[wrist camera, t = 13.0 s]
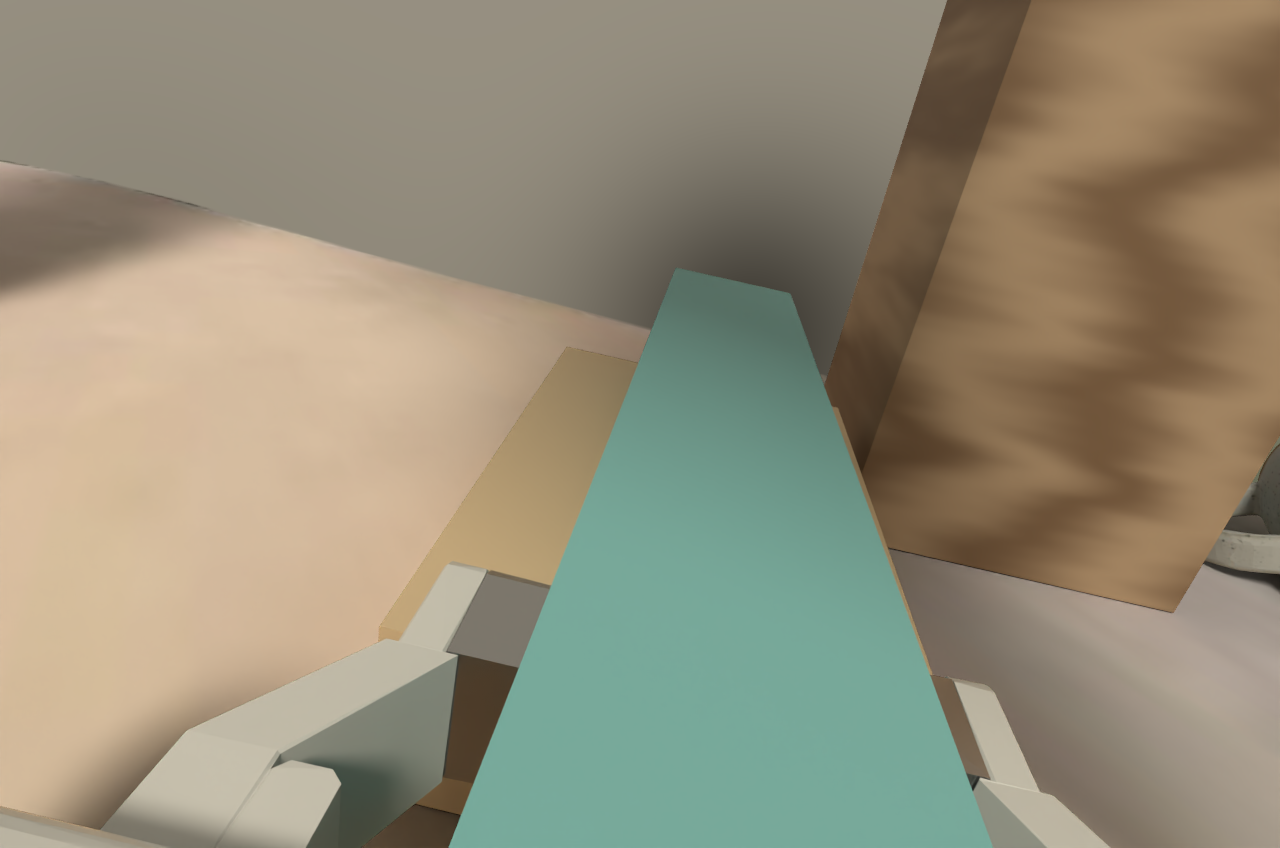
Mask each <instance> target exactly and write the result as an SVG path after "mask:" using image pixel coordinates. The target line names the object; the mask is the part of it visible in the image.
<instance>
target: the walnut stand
mask: <svg viewBox="0 0 1280 848" xmlns="http://www.w3.org/2000/svg"><path fill="white" fill-rule="evenodd" d="M824 387H825V390H826V392H827V395H828V398H829V401H830V403H831V406H832V407H837V408H838V409H839V412H840V415H841V418H842V421H843V423H844V426H845V429H846V432H847V435H848V438H849V440H850V443H851V446H852V449H853V452H854V454H855V457H856V460H857V463H858V466H859V468H860V471H861V474H862V477H863V480H864V483H865V485H866V488H867V491H868V494H869V497H870V499H871V502H872V505H873V508H874V511H875V513H876V516H877V519H878V522H879V525H880V528H881V530H882V533H883V536H884V539H885V542H886V544H887V547H888V548H893V549H897V550H901V551H906V552H910V553H914V554H919V555H923V556H928V557H932V558H936V559H941V560H945V561H949V562H954V563H958V564H962V565H967V566H971V567H976V568H980V569H984V570H989V571H993V572H997V573H1002V574H1006V575H1011V576H1015V577H1019V578H1024V579H1028V580H1032V581H1037V582H1041V583H1046V584H1050V585H1054V586H1059V587H1063V588H1067V589H1072V590H1076V591H1080V592H1085V593H1089V594H1094V595H1098V596H1102V597H1107V598H1111V599H1115V600H1120V601H1124V602H1129V603H1133V604H1137V605H1142V606H1146V607H1150V608H1155V609H1159V610H1164V611H1168V612H1172V613H1174V611H1175V609H1176V608H1177V606H1178V604H1179V603H1180V601H1181V599H1182V598H1183V596H1184V594H1185V593H1186V591H1187V589H1188V588H1189V586H1190V584H1191V583H1192V581H1193V579H1194V578H1195V576H1196V574H1197V573H1198V571H1199V569H1200V568H1201V566H1202V564H1203V563H1204V561H1205V559H1206V558H1207V556H1208V554H1209V553H1210V551H1211V549H1212V548H1213V546H1214V544H1215V543H1216V541H1217V539H1218V538H1219V536H1220V534H1221V533H1222V531H1223V529H1224V528H1225V526H1226V524H1227V523H1228V521H1229V519H1230V518H1231V516H1232V514H1233V513H1234V511H1235V509H1236V508H1237V506H1238V504H1239V503H1240V501H1241V499H1242V498H1243V496H1244V494H1245V493H1246V491H1247V489H1248V488H1249V486H1250V484H1251V483H1252V481H1253V479H1254V478H1255V476H1256V474H1257V473H1258V471H1259V469H1260V468H1261V466H1262V464H1263V463H1264V461H1265V459H1266V458H1267V456H1268V454H1269V453H1270V451H1271V449H1272V448H1273V446H1274V444H1275V443H1276V441H1277V439H1278V438H1279V436H1280V0H947V3H946V6H945V9H944V12H943V16H942V19H941V22H940V25H939V28H938V31H937V34H936V37H935V41H934V44H933V47H932V50H931V53H930V56H929V59H928V63H927V66H926V69H925V72H924V75H923V78H922V81H921V84H920V88H919V91H918V94H917V97H916V101H915V103H914V107H913V110H912V113H911V116H910V119H909V122H908V125H907V129H906V132H905V135H904V138H903V141H902V144H901V147H900V151H899V154H898V157H897V160H896V163H895V166H894V169H893V173H892V175H891V179H890V182H889V185H888V188H887V191H886V194H885V197H884V201H883V204H882V207H881V210H880V213H879V216H878V219H877V223H876V226H875V229H874V232H873V235H872V238H871V242H870V244H869V248H868V251H867V254H866V257H865V260H864V263H863V266H862V270H861V273H860V276H859V279H858V283H857V286H856V288H855V292H854V295H853V298H852V301H851V304H850V308H849V311H848V313H847V317H846V320H845V323H844V326H843V329H842V332H841V335H840V339H839V342H838V345H837V348H836V352H835V354H834V357H833V361H832V364H831V367H830V370H829V373H828V376H827V379H826V383H825V386H824Z"/></svg>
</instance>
